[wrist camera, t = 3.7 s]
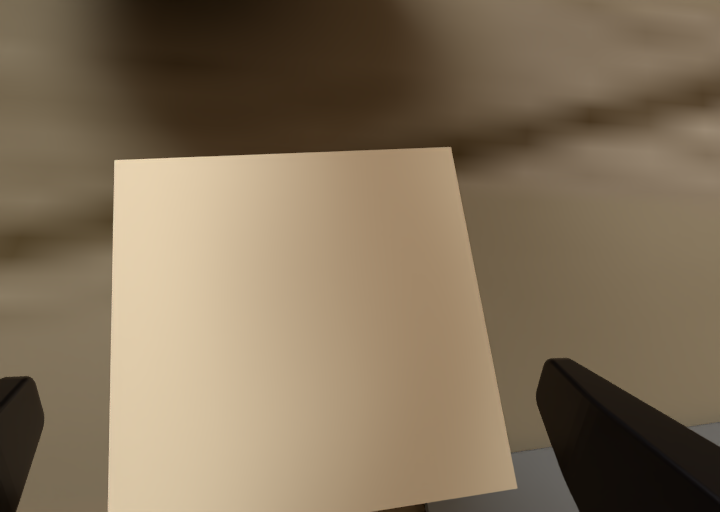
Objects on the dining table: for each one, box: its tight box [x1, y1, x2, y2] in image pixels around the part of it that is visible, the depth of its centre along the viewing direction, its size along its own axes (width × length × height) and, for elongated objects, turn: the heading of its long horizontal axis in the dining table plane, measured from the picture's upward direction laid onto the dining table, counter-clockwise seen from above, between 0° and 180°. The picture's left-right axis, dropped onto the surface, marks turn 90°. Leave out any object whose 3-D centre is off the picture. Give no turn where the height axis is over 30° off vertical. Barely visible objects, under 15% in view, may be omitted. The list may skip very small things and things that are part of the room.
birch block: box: [108, 147, 517, 512], centre depth 12 cm, size 4×4×12 cm
